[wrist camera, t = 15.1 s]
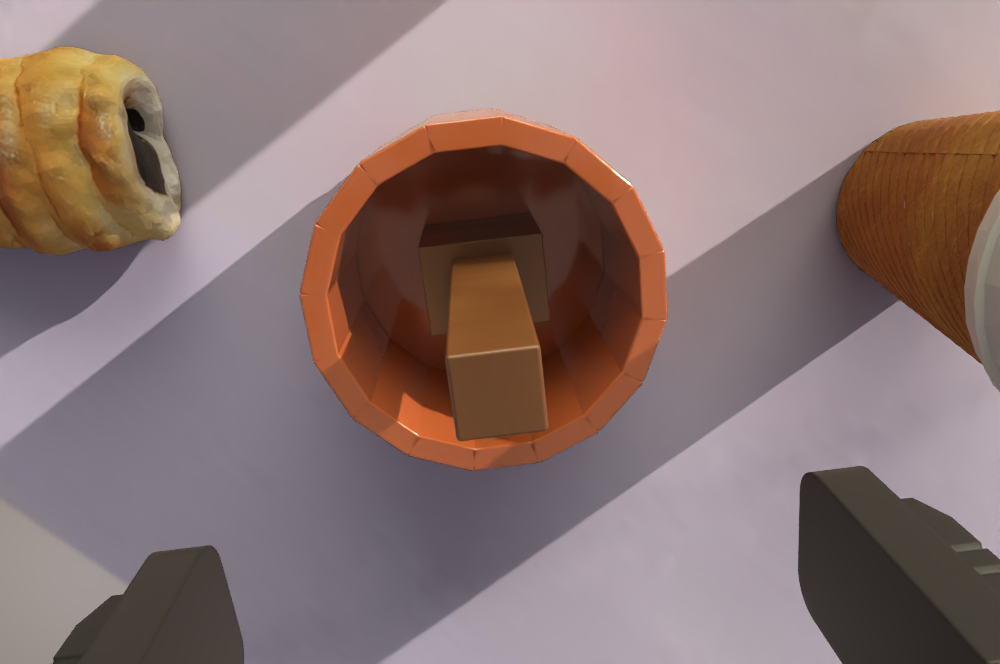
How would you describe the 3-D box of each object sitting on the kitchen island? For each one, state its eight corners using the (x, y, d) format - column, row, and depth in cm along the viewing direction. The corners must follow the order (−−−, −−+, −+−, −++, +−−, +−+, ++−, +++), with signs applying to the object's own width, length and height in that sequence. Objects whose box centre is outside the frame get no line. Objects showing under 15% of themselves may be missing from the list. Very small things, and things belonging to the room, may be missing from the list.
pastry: (-46, 264, 28) (-123, 290, 24) (-116, 75, 26) (-211, 72, 22) (202, 230, 28) (162, 251, 24) (153, 39, 26) (102, 30, 22)
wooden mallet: (435, 302, 28) (413, 469, 16) (423, 225, 27) (392, 339, 15) (538, 289, 28) (597, 447, 16) (531, 212, 27) (587, 316, 15)
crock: (365, 399, 30) (338, 488, 24) (315, 128, 27) (267, 142, 20) (627, 368, 30) (673, 447, 24) (610, 93, 27) (659, 96, 20)
